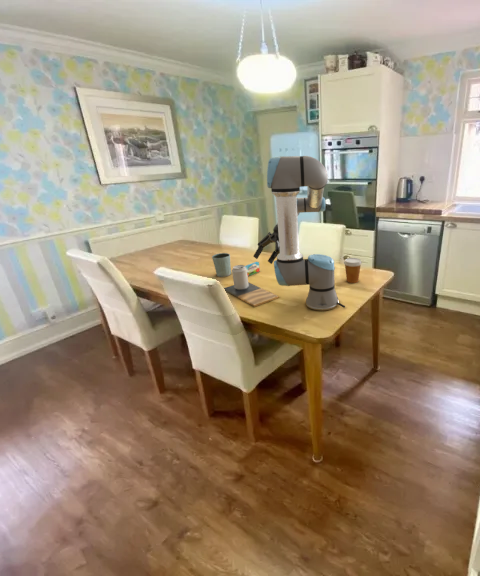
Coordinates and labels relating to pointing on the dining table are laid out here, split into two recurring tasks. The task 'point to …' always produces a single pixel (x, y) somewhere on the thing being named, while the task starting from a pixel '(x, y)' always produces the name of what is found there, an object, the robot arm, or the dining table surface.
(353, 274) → the disposable coffee cup
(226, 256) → the grey cylindrical pot
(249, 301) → the board
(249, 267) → the colorful food box
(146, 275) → the dining table surface
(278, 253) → the robot arm
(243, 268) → the can
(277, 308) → the dining table surface
